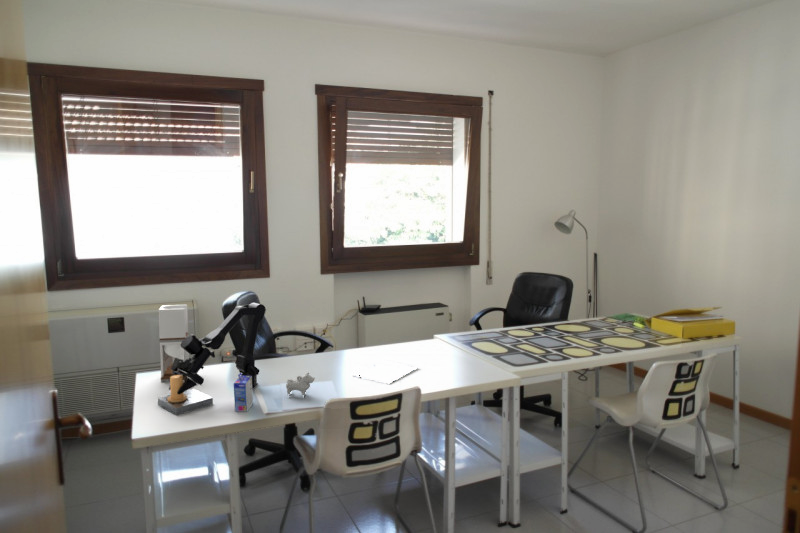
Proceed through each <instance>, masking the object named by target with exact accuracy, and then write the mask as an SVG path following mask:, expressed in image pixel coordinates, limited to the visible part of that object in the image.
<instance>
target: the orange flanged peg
mask: <svg viewBox="0 0 800 533" xmlns="http://www.w3.org/2000/svg"><path fill="white" fill-rule="evenodd" d="M183 383H184V381H183V376H182V375H174V376H171V377H170V381H169V384H170V385H169V387H170V395H171V396H169V397H168V398H167V401H168V402H171V403H172V404H176V403H180V402H183V401H185V400H186V399H187V395H184V392H183V393H181V394H177V392H178V391H179V389H180V387H181V386H182V384H183Z"/></svg>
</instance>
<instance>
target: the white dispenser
mask: <svg viewBox="0 0 800 533" xmlns="http://www.w3.org/2000/svg"><path fill="white" fill-rule="evenodd" d="M188 319H189V318H188V304H167V305H166V304H165V305H164V304H163V305H161V306H160V308H158V332H159V335H158V336H159V337H158V338H159V347H160V348H159V350H160V352H159V353H160V354H159V355H160V357H159V358H160V383H163V382H162V381H169V382H170V377H171V376H173V372H172V371H173V370H172V369H170V368H171V367H172V366H173V362H174V360H175V357H176V358H180V359H188V358H190V357H189V356H190V354H189V353H188V352H187V351H186V350H184V349H183V348H182V347H181V342H182V341H183V340H184V339H185V338H187V337H189V325H188V324H189V322H188V321H189V320H188ZM185 377H187V376H185ZM185 377H183V378H184V379H185Z"/></svg>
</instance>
